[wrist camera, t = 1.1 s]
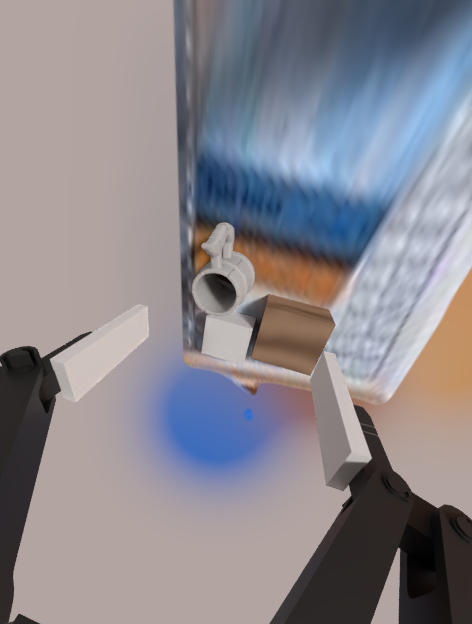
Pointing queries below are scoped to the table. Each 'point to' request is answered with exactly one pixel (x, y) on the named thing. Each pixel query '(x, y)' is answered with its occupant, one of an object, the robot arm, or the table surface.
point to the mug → (228, 264)
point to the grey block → (228, 336)
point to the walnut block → (292, 334)
